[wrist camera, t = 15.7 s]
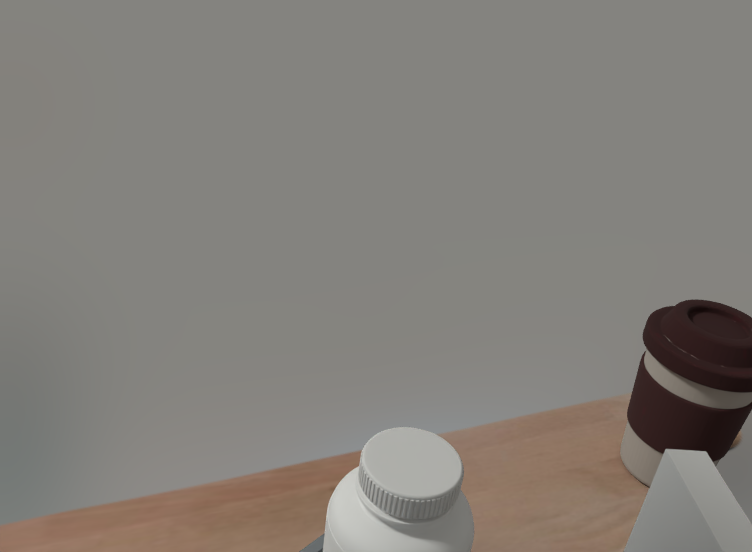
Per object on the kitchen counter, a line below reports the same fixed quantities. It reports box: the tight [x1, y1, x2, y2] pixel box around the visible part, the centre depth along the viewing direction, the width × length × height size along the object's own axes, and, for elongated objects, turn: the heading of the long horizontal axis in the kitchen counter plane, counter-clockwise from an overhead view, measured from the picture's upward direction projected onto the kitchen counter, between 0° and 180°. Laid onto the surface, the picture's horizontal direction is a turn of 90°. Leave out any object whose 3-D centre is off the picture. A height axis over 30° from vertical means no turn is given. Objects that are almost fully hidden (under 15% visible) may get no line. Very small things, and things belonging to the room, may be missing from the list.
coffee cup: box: [620, 300, 752, 487], centre depth 59 cm, size 10×10×15 cm
